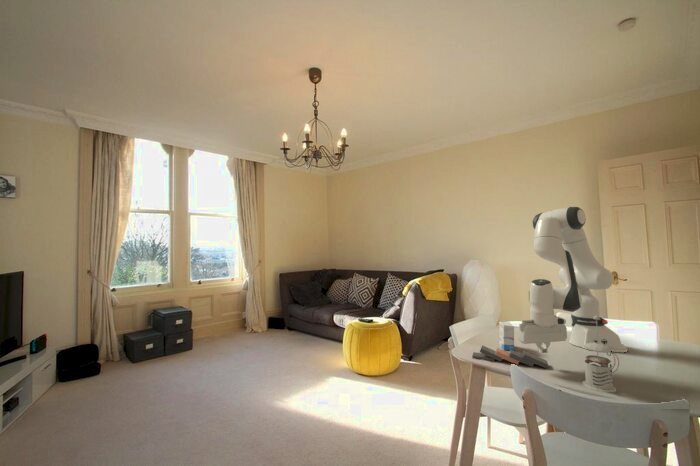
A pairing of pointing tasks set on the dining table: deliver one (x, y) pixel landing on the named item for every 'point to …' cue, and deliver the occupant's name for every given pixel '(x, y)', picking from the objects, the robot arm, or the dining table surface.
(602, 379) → the french press
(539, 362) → the domino
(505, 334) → the ink box
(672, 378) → the dining table surface
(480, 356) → the domino
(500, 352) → the domino
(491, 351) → the domino
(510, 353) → the domino
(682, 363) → the dining table surface
